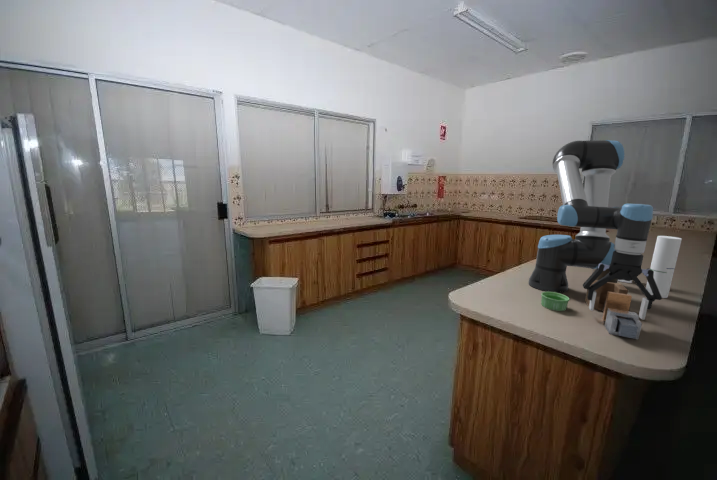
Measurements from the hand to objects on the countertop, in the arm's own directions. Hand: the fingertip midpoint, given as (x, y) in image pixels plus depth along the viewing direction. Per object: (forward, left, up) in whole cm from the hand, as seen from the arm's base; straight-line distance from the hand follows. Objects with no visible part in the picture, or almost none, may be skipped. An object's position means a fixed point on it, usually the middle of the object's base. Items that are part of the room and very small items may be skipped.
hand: (615, 313), depth 103 cm
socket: (0, +14, -3) cm, 15 cm away
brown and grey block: (0, -4, -3) cm, 5 cm away
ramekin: (-17, +5, -4) cm, 18 cm away
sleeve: (0, -8, -3) cm, 9 cm away
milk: (+17, +60, -3) cm, 62 cm away
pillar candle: (+7, +49, -3) cm, 50 cm away
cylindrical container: (+24, +43, -3) cm, 49 cm away
